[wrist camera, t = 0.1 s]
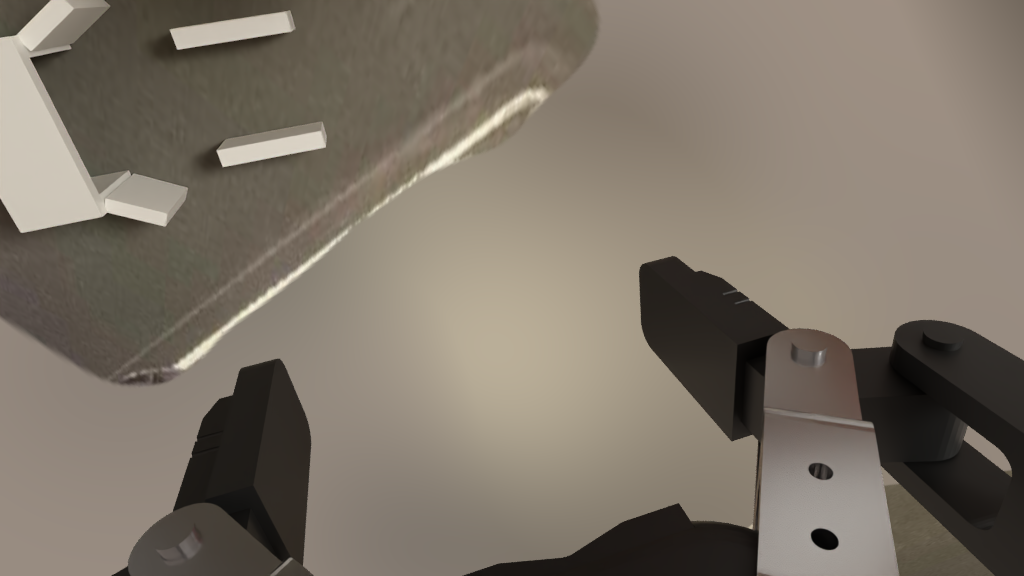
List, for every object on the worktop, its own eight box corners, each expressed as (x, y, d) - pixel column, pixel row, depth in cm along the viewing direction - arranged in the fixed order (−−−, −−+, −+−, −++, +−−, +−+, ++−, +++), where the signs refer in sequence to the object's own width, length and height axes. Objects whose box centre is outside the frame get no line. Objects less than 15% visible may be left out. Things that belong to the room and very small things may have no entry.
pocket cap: (-35, 12, 30) (-110, 15, 25) (104, -8, 31) (59, -8, 26) (78, 220, 36) (35, 257, 31) (192, 197, 37) (168, 229, 32)
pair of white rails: (183, 26, 33) (169, 29, 30) (290, 10, 34) (285, 11, 31) (231, 154, 36) (222, 167, 34) (326, 136, 37) (325, 147, 35)
